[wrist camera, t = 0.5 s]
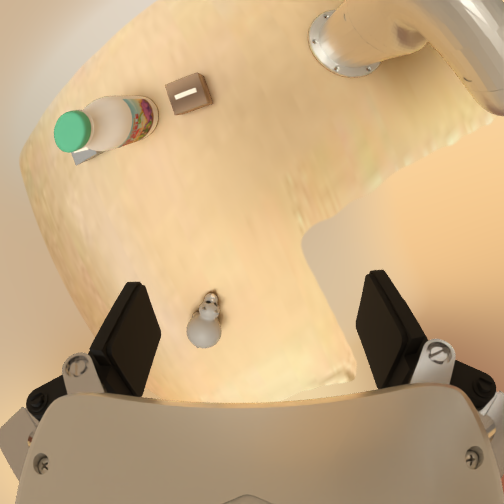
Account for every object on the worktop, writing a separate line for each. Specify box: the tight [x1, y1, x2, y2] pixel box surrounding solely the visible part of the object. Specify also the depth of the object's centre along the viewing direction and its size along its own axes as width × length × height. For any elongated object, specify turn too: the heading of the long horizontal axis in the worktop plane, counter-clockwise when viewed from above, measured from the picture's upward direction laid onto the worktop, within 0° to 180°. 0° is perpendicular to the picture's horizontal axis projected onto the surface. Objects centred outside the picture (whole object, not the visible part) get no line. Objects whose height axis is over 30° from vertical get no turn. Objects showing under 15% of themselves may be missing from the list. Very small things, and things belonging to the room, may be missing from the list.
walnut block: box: [165, 73, 213, 115], centre depth 35 cm, size 5×5×5 cm
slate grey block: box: [71, 147, 104, 165], centre depth 38 cm, size 5×5×5 cm
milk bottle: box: [54, 96, 158, 152], centre depth 30 cm, size 8×8×20 cm
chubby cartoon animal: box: [187, 293, 221, 348], centre depth 55 cm, size 7×12×8 cm, turn 160°
